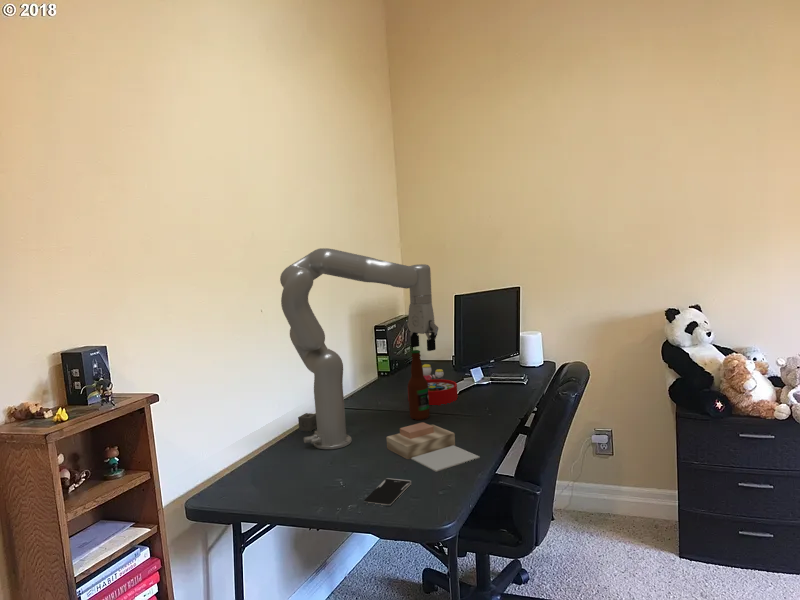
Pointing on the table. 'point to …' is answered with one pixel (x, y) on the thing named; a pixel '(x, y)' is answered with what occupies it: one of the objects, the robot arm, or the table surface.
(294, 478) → the table surface
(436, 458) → the mat
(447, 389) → the toy clock
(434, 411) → the table surface
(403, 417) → the table surface
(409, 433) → the tile
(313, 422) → the dice cube
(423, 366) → the toy figures
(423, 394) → the bottle
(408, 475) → the table surface
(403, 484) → the smartphone
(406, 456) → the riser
